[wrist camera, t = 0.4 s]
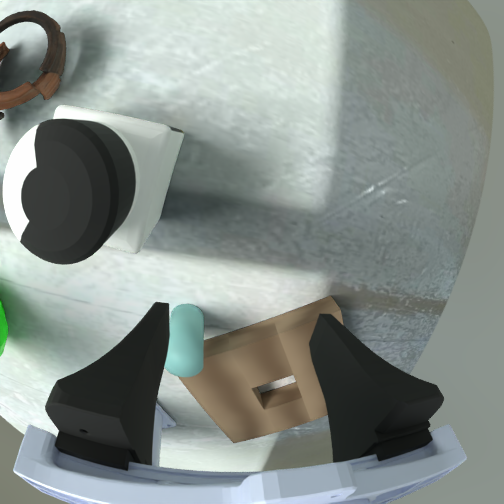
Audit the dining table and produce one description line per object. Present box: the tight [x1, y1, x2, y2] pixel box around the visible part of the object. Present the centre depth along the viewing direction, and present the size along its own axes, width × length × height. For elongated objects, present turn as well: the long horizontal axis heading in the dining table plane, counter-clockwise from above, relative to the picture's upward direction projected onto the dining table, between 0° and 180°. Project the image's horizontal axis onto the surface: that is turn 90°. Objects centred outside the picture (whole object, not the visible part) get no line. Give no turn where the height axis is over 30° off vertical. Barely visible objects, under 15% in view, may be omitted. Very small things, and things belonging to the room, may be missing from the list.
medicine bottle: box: [3, 105, 184, 264], centre depth 14 cm, size 7×7×12 cm
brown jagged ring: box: [0, 10, 66, 120], centre depth 12 cm, size 12×10×8 cm
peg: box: [164, 304, 204, 377], centre depth 22 cm, size 3×3×6 cm
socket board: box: [178, 296, 344, 443], centre depth 28 cm, size 16×16×2 cm
